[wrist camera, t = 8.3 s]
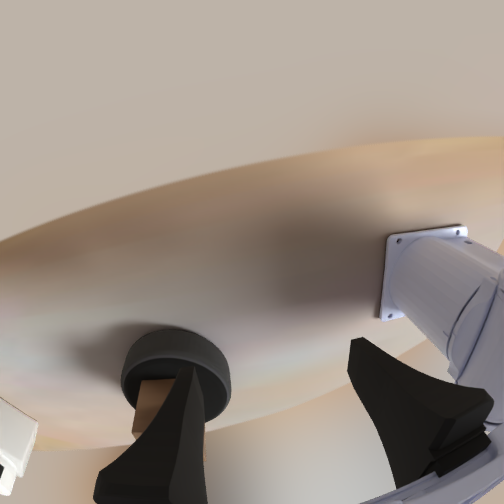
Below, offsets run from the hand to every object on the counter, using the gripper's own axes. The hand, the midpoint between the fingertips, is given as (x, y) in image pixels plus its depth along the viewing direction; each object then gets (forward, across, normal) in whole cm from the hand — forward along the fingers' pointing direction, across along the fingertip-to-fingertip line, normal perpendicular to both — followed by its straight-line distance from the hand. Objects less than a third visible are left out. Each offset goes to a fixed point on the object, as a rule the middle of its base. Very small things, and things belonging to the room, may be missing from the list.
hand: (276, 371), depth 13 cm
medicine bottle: (+10, +33, +17) cm, 38 cm away
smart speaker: (+10, +7, +8) cm, 15 cm away
